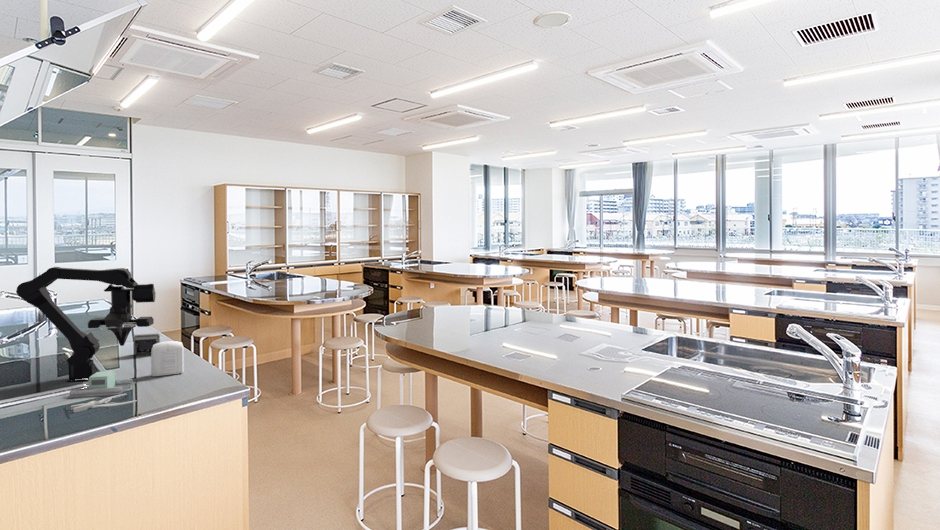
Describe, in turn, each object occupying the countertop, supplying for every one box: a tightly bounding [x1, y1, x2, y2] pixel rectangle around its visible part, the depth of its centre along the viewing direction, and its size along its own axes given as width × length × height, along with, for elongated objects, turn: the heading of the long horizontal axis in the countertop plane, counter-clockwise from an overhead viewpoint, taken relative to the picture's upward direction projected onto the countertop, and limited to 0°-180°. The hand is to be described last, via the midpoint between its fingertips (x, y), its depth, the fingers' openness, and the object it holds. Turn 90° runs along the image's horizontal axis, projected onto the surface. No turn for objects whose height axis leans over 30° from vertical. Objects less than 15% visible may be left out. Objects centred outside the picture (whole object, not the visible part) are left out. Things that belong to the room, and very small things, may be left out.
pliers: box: [70, 393, 138, 413], centre depth 147 cm, size 10×2×15 cm
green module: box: [88, 370, 116, 389], centre depth 159 cm, size 5×6×5 cm
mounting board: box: [67, 378, 135, 399], centre depth 159 cm, size 14×13×2 cm
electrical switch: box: [133, 332, 161, 357], centre depth 202 cm, size 9×5×9 cm, turn 117°
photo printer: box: [150, 340, 185, 377], centre depth 177 cm, size 10×4×12 cm, turn 123°
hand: (122, 345), depth 175 cm, fingers closed
